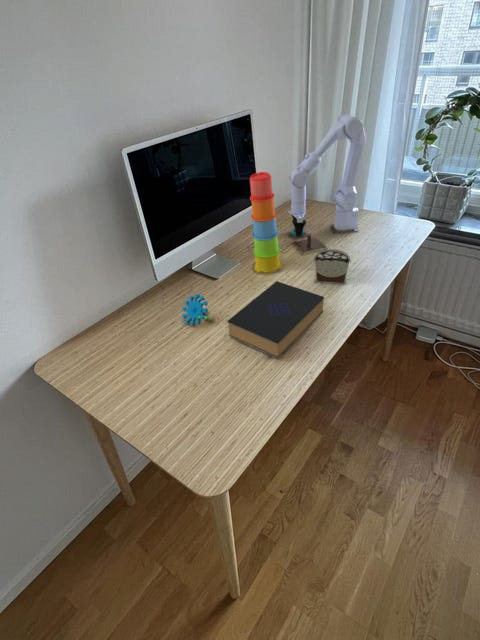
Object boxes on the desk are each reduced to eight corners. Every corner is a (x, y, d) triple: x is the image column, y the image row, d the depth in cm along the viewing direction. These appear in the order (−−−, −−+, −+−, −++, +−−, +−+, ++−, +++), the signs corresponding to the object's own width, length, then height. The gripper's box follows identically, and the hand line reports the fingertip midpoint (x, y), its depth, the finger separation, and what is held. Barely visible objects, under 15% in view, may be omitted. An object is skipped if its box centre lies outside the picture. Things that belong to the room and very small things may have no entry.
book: (229, 338, 112) (227, 320, 108) (276, 297, 127) (276, 280, 123) (278, 361, 103) (277, 342, 99) (323, 314, 118) (324, 296, 114)
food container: (349, 275, 135) (352, 249, 129) (348, 284, 130) (351, 258, 124) (314, 272, 138) (315, 247, 132) (312, 281, 133) (313, 256, 127)
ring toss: (314, 239, 159) (315, 227, 156) (326, 249, 151) (326, 237, 148) (292, 244, 157) (292, 232, 154) (303, 254, 149) (303, 242, 146)
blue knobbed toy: (175, 313, 122) (192, 287, 120) (187, 317, 126) (203, 292, 125) (195, 333, 115) (213, 306, 114) (207, 336, 120) (224, 310, 119)
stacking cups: (282, 273, 139) (281, 177, 118) (254, 275, 140) (248, 180, 119) (280, 259, 147) (278, 167, 126) (253, 261, 148) (247, 170, 127)
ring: (303, 232, 165) (303, 227, 164) (305, 237, 161) (305, 233, 159) (290, 232, 166) (290, 228, 164) (291, 238, 161) (291, 234, 160)
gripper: (287, 195, 160) (287, 225, 168) (289, 208, 148) (289, 240, 157) (304, 193, 159) (303, 224, 168) (307, 206, 148) (307, 239, 156)
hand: (298, 231), depth 162 cm, fingers open, 7 cm apart
